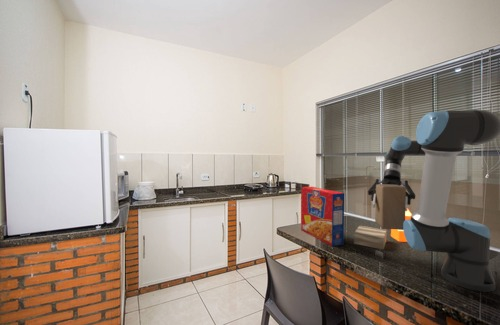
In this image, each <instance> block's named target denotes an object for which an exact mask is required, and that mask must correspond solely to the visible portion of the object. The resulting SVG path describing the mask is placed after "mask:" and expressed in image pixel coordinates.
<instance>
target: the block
mask: <svg viewBox="0 0 500 325" xmlns="http://www.w3.org/2000/svg"><path fill="white" fill-rule="evenodd" d="M375 190H376V203H375V214H374V215H375V217H374V218H375V221H374V222H375V224H376V225H378V227H380V229H384V230H391V229H396V230H403V223H404V221H405V203H406V192H407V190H406V188H405V186H403V185H400V186H399V185H390V184H382V183H381V184H377V185H376V189H375Z"/></svg>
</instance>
